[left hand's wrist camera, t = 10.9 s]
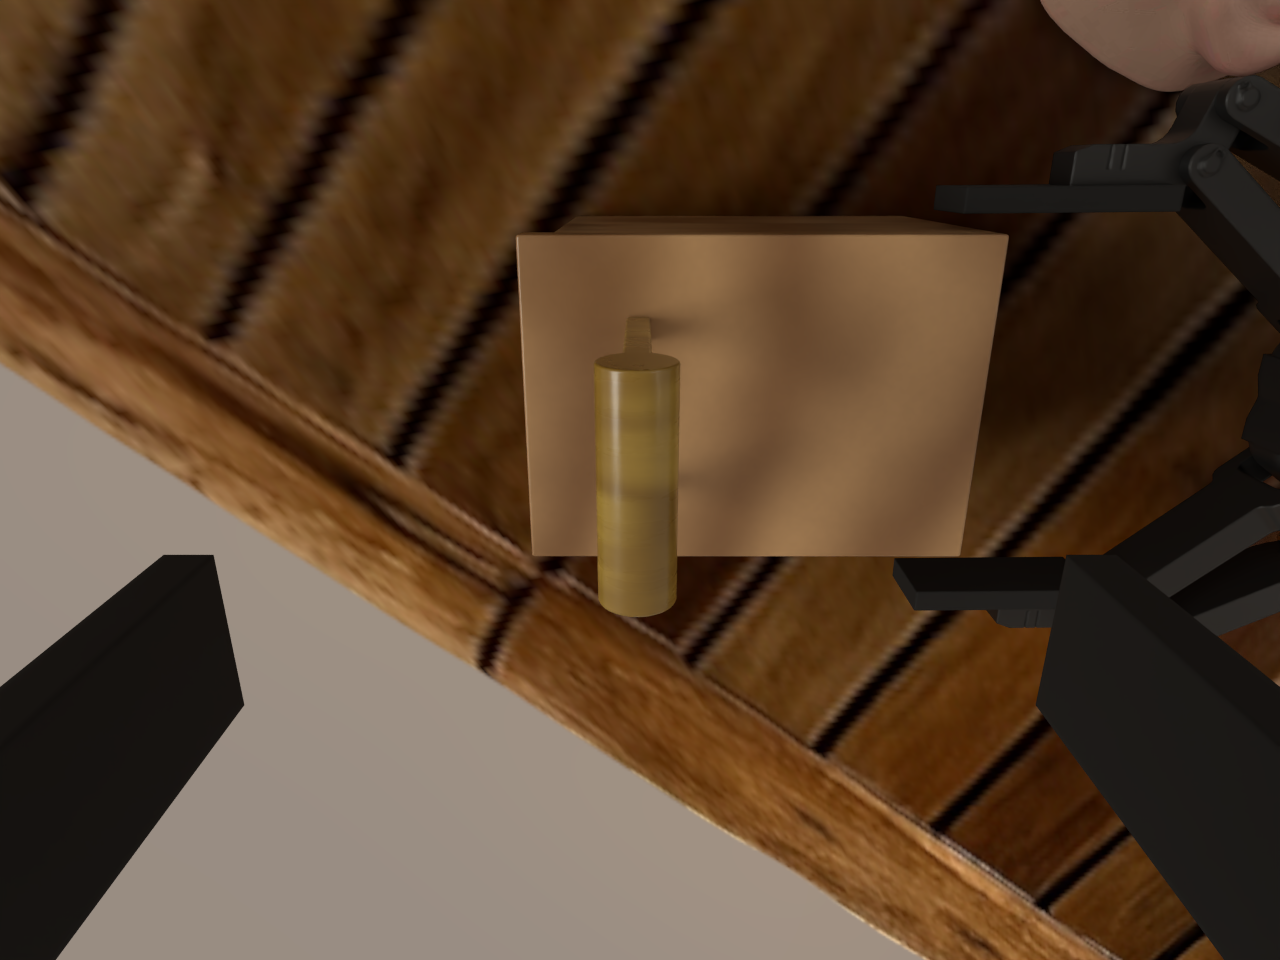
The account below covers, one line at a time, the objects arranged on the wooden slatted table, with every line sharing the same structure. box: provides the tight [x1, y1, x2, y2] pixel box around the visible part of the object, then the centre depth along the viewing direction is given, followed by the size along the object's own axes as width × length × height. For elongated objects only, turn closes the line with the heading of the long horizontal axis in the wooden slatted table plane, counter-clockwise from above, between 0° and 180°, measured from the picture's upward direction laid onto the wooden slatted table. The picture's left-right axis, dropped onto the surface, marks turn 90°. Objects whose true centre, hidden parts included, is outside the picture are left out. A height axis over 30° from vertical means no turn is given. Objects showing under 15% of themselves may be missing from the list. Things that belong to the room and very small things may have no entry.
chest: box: [555, 216, 995, 233], centre depth 30 cm, size 13×10×9 cm
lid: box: [516, 233, 1009, 617], centre depth 22 cm, size 14×10×8 cm
